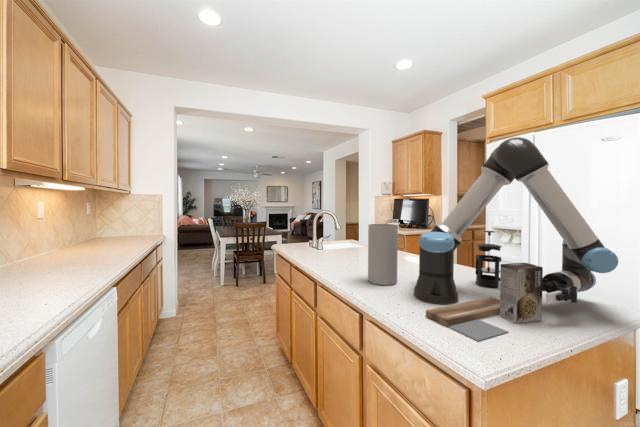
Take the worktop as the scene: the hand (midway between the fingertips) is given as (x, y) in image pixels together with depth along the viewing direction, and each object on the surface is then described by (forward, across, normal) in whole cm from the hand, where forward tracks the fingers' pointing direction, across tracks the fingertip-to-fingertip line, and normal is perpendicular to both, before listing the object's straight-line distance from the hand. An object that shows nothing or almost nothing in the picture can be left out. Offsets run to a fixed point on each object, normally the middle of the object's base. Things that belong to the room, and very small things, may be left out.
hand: (521, 291), depth 87 cm
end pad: (+20, 0, -8) cm, 21 cm away
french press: (-24, +27, -8) cm, 38 cm away
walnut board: (+11, +8, -8) cm, 16 cm away
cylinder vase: (+14, +50, -8) cm, 52 cm away
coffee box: (+1, 0, -8) cm, 8 cm away
